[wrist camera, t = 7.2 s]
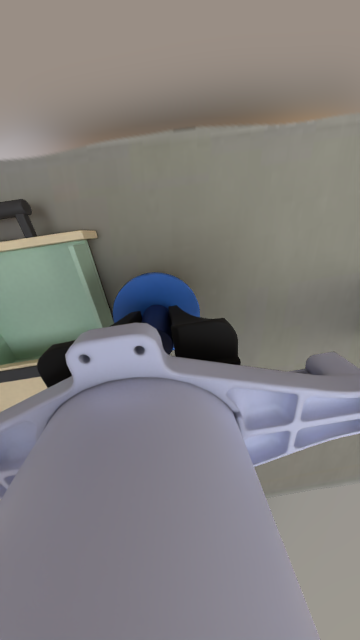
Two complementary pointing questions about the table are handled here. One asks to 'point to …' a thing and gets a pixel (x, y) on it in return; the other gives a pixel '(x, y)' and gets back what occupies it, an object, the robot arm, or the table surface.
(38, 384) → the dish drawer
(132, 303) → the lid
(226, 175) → the table surface
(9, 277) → the wooden drawer
